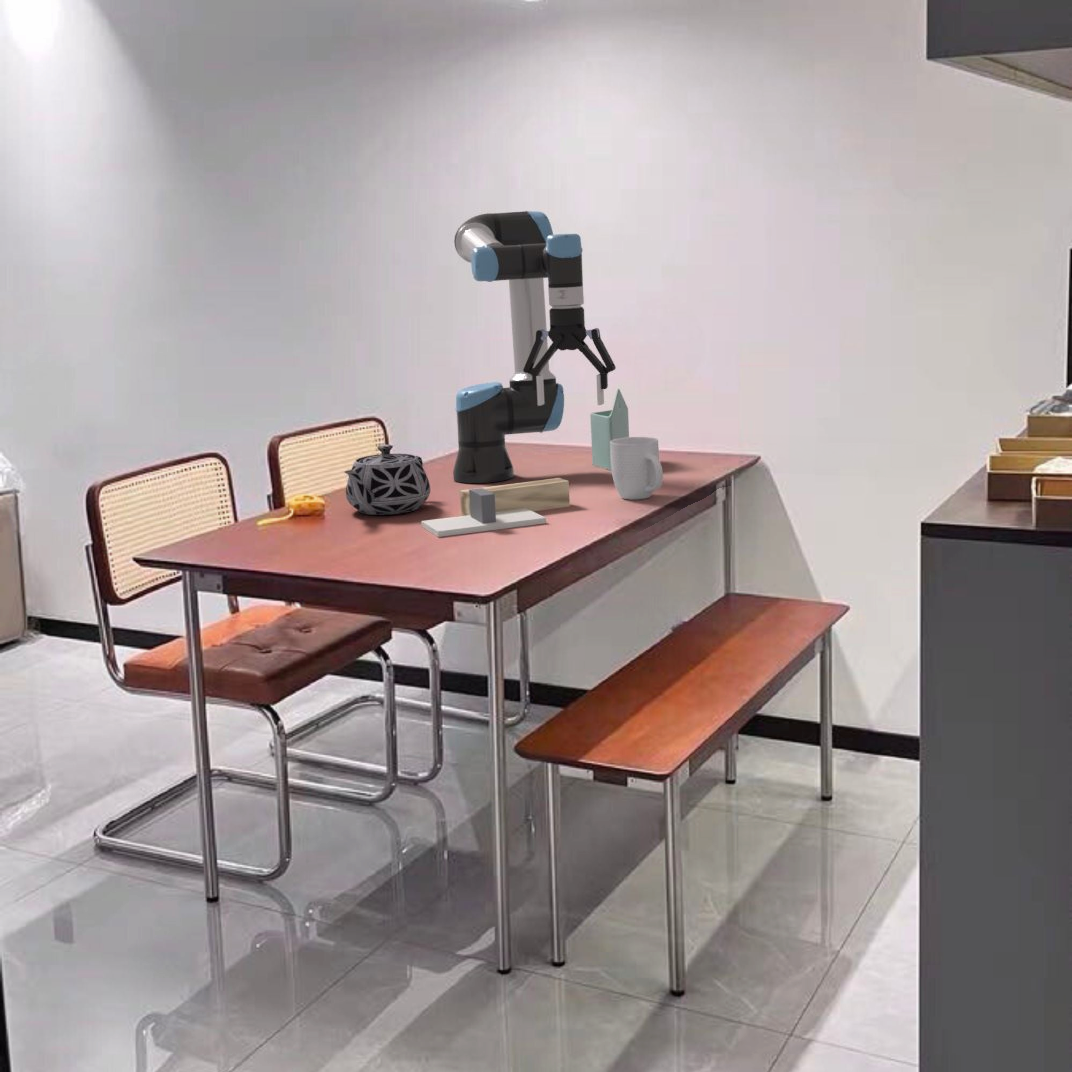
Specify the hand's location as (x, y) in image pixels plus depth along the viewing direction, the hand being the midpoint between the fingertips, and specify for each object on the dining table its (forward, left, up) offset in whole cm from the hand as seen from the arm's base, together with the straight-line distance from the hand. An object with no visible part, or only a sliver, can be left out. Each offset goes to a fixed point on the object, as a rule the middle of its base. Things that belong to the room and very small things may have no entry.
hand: (570, 404), depth 323 cm
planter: (-46, +27, -23) cm, 58 cm away
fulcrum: (+6, -24, -23) cm, 34 cm away
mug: (-2, +16, -23) cm, 28 cm away
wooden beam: (-4, -13, -23) cm, 27 cm away
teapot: (-21, -38, -23) cm, 49 cm away
